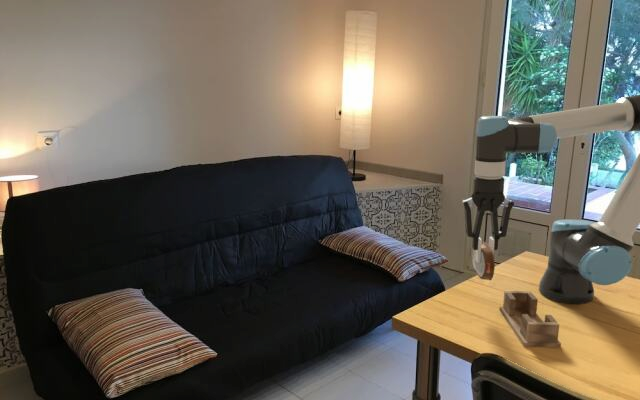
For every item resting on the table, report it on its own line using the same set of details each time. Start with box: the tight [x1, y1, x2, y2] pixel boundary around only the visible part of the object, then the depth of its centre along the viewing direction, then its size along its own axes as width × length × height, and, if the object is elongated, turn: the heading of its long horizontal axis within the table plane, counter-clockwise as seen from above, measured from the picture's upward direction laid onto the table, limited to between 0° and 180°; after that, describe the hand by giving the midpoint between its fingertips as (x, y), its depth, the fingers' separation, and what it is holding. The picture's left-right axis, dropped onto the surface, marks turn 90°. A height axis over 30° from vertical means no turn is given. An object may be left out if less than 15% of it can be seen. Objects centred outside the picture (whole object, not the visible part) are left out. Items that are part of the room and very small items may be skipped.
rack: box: [499, 290, 562, 348], centre depth 137 cm, size 9×20×6 cm, turn 178°
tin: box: [471, 241, 496, 281], centre depth 142 cm, size 15×3×8 cm, turn 176°
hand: (484, 260), depth 141 cm, fingers closed on tin, 3 cm apart
